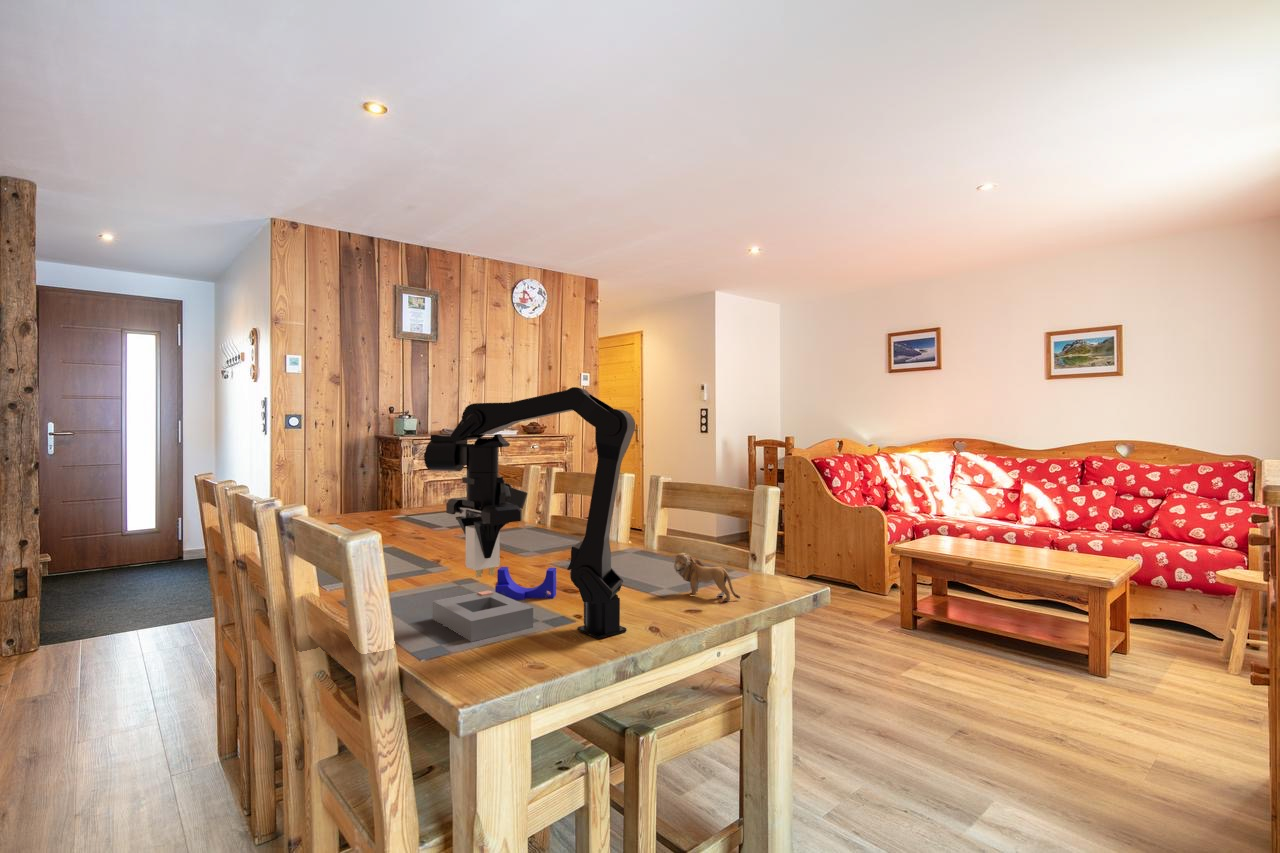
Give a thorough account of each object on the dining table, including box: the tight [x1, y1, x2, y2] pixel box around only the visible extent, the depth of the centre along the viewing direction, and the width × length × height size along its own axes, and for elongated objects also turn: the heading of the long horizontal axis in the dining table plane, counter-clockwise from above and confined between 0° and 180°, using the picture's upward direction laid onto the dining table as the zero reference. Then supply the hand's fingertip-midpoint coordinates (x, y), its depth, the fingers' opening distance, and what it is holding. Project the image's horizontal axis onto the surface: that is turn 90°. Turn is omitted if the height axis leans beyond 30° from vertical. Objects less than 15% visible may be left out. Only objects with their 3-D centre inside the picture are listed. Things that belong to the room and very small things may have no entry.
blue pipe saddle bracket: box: [494, 566, 557, 601], centre depth 135 cm, size 12×4×6 cm, turn 86°
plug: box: [465, 525, 501, 578], centre depth 117 cm, size 4×5×9 cm
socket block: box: [432, 589, 534, 643], centre depth 117 cm, size 16×12×4 cm
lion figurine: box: [673, 552, 741, 602], centre depth 135 cm, size 15×5×9 cm, turn 68°
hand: (482, 556), depth 117 cm, fingers closed on plug, 4 cm apart
